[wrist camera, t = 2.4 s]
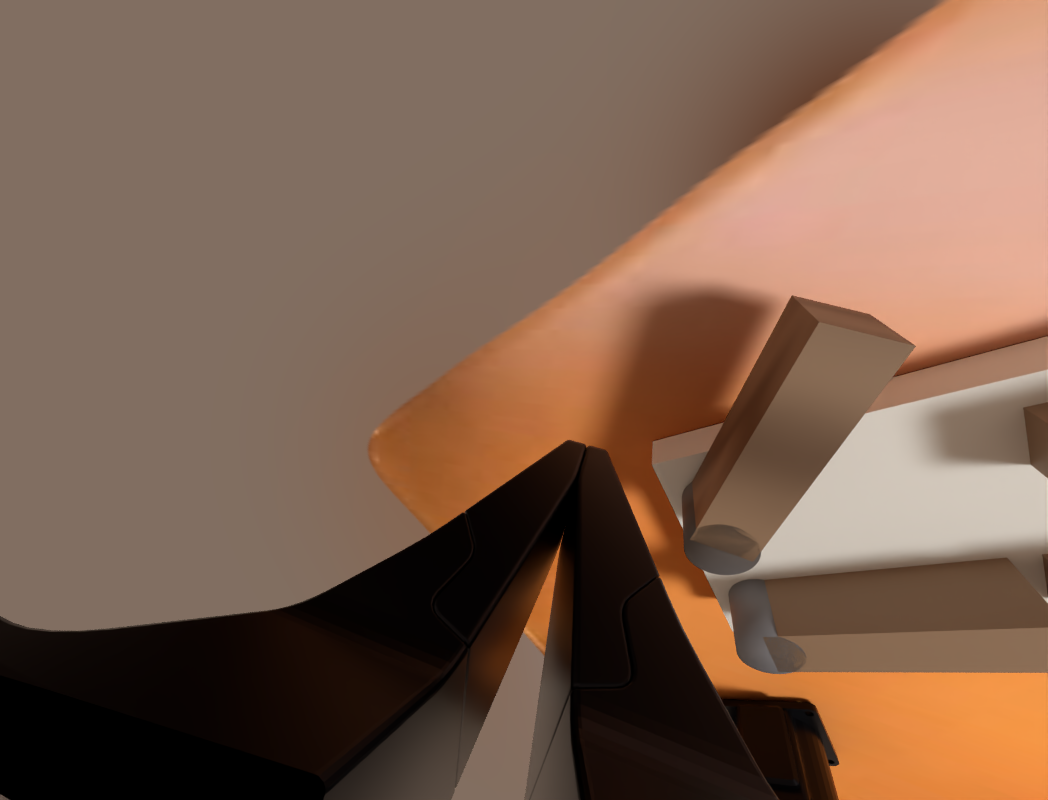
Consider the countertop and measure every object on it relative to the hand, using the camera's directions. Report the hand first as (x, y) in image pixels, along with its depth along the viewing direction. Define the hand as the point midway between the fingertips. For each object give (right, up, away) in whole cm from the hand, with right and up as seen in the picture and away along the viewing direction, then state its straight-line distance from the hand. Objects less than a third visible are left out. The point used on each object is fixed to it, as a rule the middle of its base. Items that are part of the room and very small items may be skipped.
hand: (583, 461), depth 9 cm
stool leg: (+8, 0, +8) cm, 12 cm away
